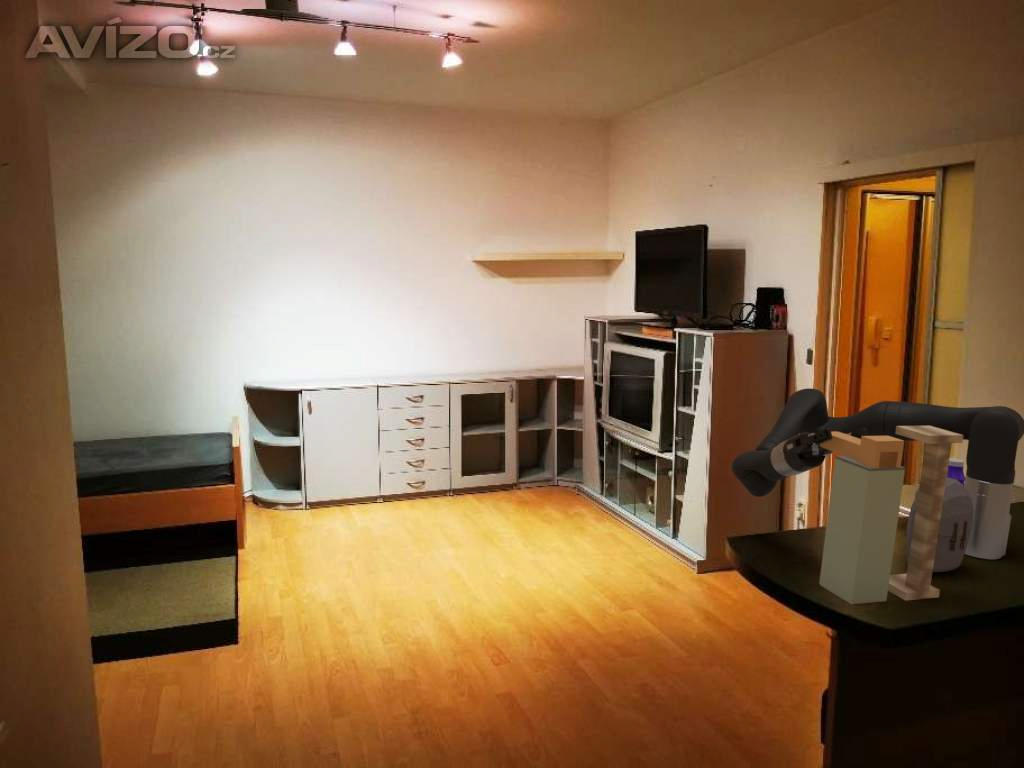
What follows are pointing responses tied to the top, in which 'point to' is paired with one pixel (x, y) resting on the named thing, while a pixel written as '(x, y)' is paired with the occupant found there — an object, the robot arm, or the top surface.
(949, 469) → the bottle
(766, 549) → the top surface
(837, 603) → the top surface
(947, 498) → the soft grey pack
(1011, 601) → the top surface
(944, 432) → the tan table
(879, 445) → the orange wooden block
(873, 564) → the tall grey-green pillar
